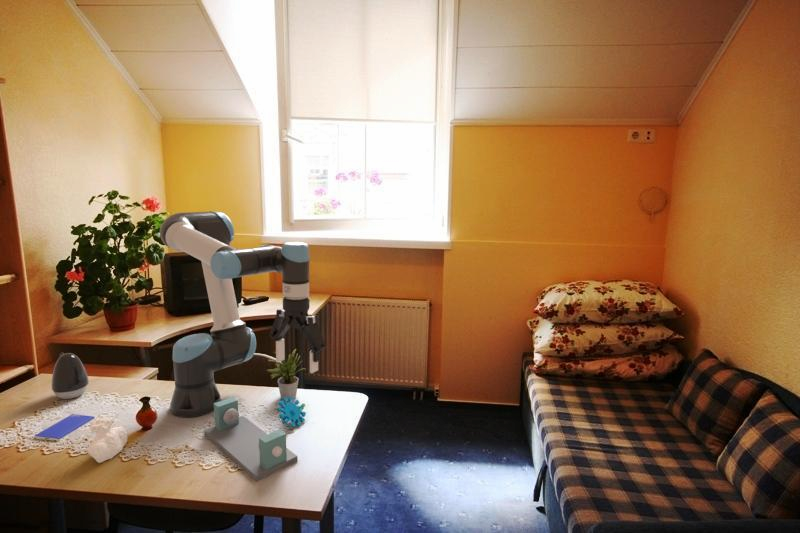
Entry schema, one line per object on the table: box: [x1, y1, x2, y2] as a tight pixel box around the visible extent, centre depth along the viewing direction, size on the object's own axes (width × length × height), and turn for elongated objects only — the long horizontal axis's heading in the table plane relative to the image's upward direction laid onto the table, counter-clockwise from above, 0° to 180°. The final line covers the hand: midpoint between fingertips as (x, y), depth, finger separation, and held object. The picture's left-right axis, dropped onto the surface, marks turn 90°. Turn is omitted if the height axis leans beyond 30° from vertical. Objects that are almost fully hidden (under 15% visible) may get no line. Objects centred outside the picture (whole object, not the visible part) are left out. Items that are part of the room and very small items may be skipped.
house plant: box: [266, 348, 306, 401], centre depth 157 cm, size 14×14×16 cm
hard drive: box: [33, 413, 96, 442], centre depth 134 cm, size 2×8×12 cm
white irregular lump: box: [86, 416, 129, 464], centre depth 121 cm, size 12×8×11 cm
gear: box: [276, 397, 307, 428], centre depth 140 cm, size 11×6×10 cm
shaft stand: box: [203, 396, 299, 482], centre depth 125 cm, size 31×12×9 cm, turn 47°
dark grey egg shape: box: [51, 352, 89, 400], centre depth 153 cm, size 10×10×15 cm
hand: (296, 366), depth 133 cm, fingers open, 13 cm apart
